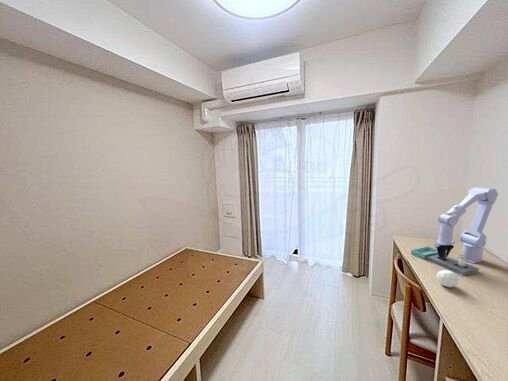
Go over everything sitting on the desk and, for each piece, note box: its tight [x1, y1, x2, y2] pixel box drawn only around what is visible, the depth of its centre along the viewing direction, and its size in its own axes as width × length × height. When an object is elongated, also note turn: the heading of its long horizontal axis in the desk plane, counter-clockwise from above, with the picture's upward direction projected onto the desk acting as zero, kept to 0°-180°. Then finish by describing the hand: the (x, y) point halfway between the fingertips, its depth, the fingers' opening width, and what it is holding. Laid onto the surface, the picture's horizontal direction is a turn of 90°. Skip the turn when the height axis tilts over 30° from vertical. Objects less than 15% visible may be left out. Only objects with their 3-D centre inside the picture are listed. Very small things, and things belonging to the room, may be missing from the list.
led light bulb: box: [439, 250, 447, 261], centre depth 126 cm, size 3×3×8 cm
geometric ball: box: [436, 269, 459, 288], centre depth 103 cm, size 8×8×8 cm
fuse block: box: [426, 255, 479, 276], centre depth 122 cm, size 12×18×2 cm, turn 17°
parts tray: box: [410, 245, 438, 260], centre depth 135 cm, size 15×8×3 cm, turn 107°
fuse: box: [457, 254, 467, 269], centre depth 117 cm, size 3×3×8 cm
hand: (442, 256), depth 126 cm, fingers closed on led light bulb, 3 cm apart
